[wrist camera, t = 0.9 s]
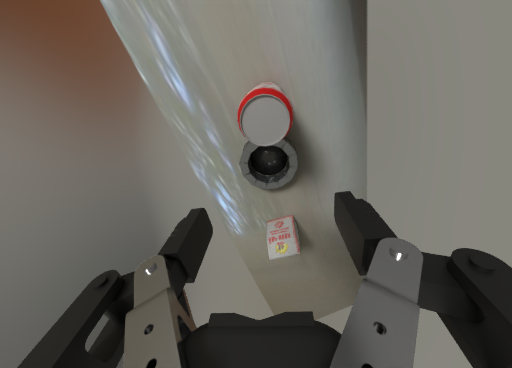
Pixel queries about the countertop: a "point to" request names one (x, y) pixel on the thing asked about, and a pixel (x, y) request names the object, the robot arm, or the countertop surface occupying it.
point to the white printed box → (282, 238)
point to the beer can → (265, 114)
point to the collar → (269, 164)
